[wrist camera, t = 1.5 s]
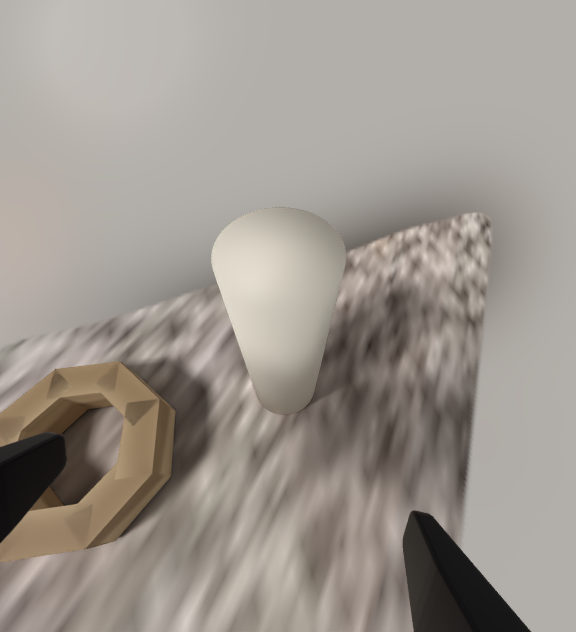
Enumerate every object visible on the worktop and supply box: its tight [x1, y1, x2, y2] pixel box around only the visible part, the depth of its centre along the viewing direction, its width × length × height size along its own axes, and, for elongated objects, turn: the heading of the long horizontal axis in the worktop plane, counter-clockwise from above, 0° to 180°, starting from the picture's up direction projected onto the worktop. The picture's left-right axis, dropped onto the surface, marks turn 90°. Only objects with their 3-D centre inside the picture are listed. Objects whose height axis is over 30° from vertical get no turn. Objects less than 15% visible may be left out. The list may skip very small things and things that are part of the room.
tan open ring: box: [0, 362, 176, 563], centre depth 18 cm, size 10×10×3 cm
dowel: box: [211, 207, 346, 415], centre depth 16 cm, size 4×4×14 cm
